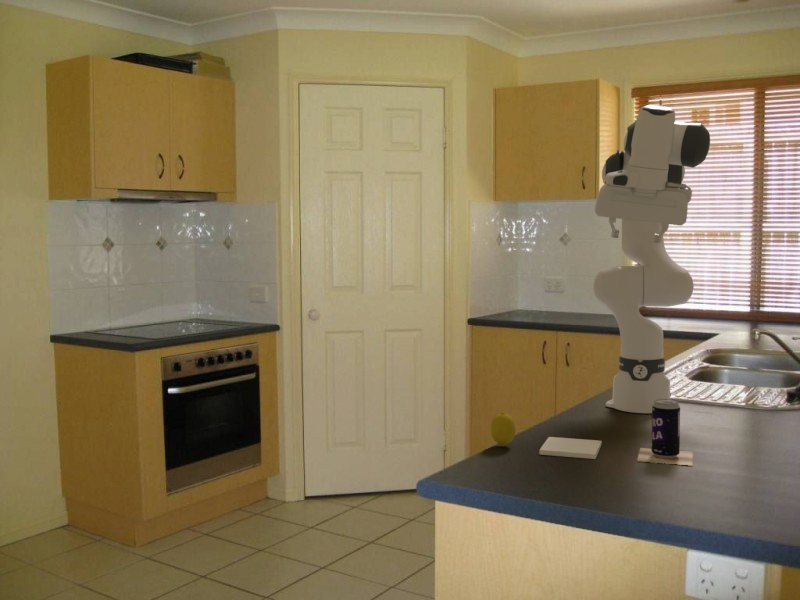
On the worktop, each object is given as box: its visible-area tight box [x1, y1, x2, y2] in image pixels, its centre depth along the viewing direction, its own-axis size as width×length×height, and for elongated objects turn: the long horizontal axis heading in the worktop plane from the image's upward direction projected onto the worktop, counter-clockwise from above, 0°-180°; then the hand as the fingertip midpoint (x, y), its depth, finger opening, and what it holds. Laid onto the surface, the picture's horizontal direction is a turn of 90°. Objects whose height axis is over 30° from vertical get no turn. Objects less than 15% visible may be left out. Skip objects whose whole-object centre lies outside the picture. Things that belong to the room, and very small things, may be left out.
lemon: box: [490, 411, 516, 448], centre depth 184 cm, size 6×6×8 cm
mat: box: [538, 436, 603, 460], centre depth 181 cm, size 12×12×1 cm
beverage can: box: [651, 398, 681, 459], centre depth 174 cm, size 6×6×12 cm
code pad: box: [636, 447, 694, 467], centre depth 174 cm, size 11×11×1 cm
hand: (635, 239), depth 186 cm, fingers open, 8 cm apart
